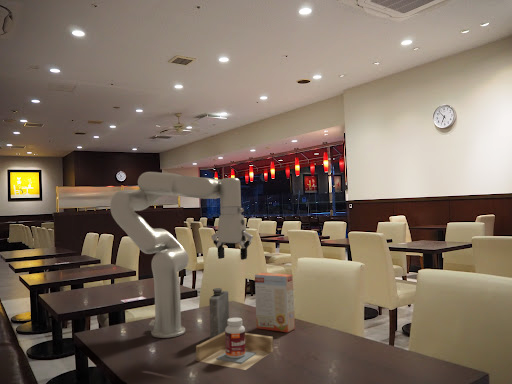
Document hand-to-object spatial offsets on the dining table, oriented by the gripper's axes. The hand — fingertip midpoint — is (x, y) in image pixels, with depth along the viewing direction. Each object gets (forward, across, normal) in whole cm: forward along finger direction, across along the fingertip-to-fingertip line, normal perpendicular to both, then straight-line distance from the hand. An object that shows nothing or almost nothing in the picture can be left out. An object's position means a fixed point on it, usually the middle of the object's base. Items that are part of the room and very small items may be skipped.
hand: (232, 258), depth 154 cm
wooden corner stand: (+28, -11, +17) cm, 35 cm away
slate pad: (+28, -12, +18) cm, 35 cm away
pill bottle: (+28, -12, +18) cm, 35 cm away
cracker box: (+28, -9, -15) cm, 33 cm away
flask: (+28, +4, +4) cm, 29 cm away
